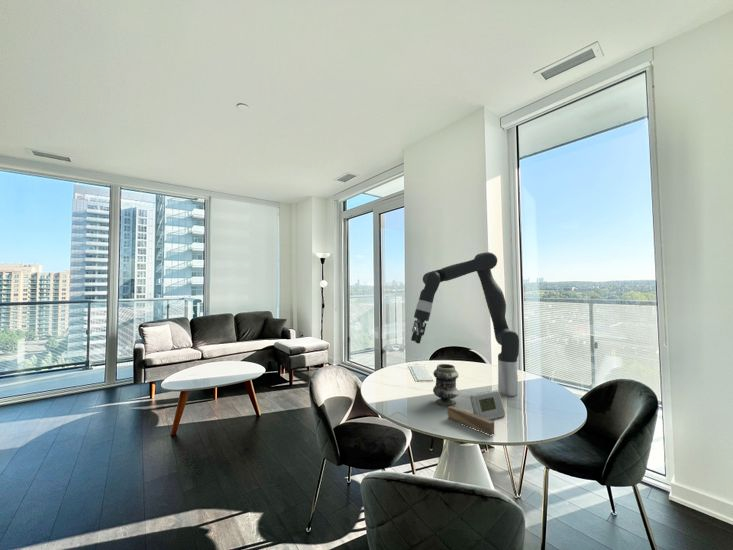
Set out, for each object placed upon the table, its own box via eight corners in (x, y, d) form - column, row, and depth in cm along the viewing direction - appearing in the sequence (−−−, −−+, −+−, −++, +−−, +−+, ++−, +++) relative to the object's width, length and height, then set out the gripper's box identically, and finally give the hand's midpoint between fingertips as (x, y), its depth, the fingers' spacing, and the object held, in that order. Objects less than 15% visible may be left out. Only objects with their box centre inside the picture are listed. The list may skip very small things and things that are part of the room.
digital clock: (476, 424, 136) (476, 398, 136) (465, 415, 145) (464, 391, 145) (510, 420, 139) (510, 395, 140) (497, 411, 148) (497, 388, 148)
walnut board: (451, 417, 142) (451, 406, 142) (494, 434, 126) (494, 421, 126) (448, 419, 141) (448, 407, 141) (490, 436, 125) (490, 423, 125)
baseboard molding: (412, 382, 191) (433, 382, 191) (412, 377, 191) (433, 377, 191) (406, 368, 222) (424, 368, 222) (406, 363, 222) (424, 363, 222)
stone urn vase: (455, 409, 150) (454, 370, 151) (429, 405, 156) (429, 367, 156) (461, 401, 161) (461, 364, 161) (437, 396, 167) (437, 361, 167)
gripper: (434, 313, 157) (426, 346, 156) (426, 311, 172) (418, 342, 170) (420, 308, 157) (411, 341, 155) (412, 307, 171) (404, 338, 169)
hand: (415, 341), depth 163 cm, fingers open, 8 cm apart
